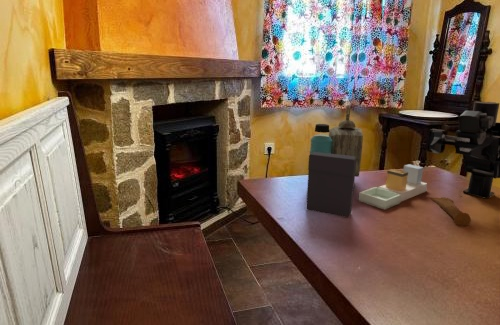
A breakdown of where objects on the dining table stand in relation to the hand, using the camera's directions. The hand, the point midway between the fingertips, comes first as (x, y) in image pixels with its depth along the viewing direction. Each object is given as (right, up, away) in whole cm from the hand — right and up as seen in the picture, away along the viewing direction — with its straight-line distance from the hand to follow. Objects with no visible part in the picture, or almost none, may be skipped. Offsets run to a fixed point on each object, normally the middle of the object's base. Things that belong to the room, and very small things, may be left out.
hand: (449, 149), depth 87 cm
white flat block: (-4, -12, +19) cm, 23 cm away
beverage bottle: (-29, -12, +20) cm, 37 cm away
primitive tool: (+3, -16, +7) cm, 18 cm away
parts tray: (-13, -14, +11) cm, 22 cm away
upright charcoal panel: (-29, -16, +4) cm, 33 cm away
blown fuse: (-7, -13, +16) cm, 22 cm away
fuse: (0, -12, +21) cm, 24 cm away
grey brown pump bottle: (-20, -10, +27) cm, 35 cm away
